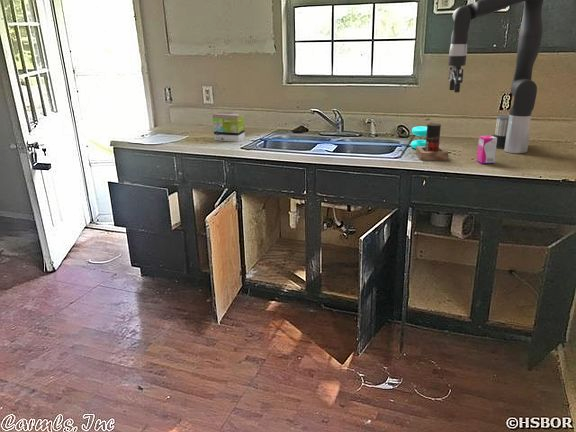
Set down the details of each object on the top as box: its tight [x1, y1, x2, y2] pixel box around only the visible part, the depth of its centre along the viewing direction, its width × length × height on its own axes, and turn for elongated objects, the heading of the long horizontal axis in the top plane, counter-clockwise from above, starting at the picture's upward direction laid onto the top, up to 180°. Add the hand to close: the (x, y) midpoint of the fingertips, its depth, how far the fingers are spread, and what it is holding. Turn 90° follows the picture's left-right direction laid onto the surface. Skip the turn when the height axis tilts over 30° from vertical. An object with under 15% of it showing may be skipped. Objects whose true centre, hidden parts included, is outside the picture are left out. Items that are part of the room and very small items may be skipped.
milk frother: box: [489, 115, 509, 150], centre depth 236 cm, size 14×16×15 cm
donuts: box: [410, 126, 427, 150], centre depth 236 cm, size 10×10×10 cm
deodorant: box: [425, 122, 442, 152], centre depth 218 cm, size 6×6×15 cm
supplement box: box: [476, 135, 497, 165], centre depth 207 cm, size 6×6×12 cm
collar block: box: [415, 145, 449, 161], centre depth 220 cm, size 12×12×4 cm
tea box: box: [212, 111, 246, 143], centre depth 265 cm, size 15×10×15 cm, turn 73°
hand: (454, 91), depth 221 cm, fingers open, 8 cm apart
